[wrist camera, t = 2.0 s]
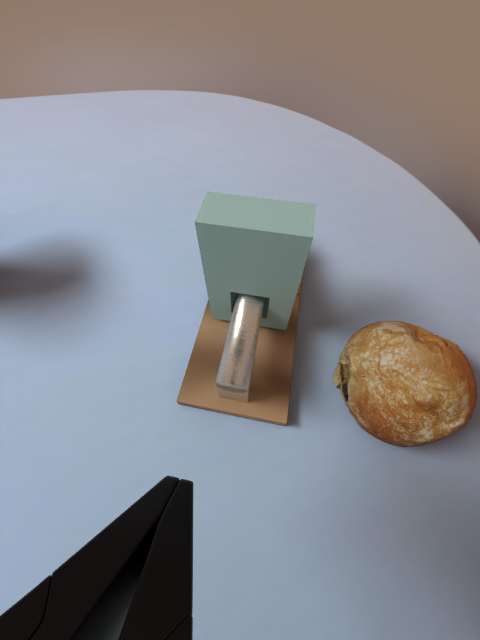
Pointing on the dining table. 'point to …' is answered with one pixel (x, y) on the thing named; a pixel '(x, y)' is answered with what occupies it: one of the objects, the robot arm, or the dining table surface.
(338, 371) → the bread roll
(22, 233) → the dining table surface
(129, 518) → the robot arm
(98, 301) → the dining table surface
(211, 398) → the walnut board
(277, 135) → the dining table surface
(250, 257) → the sage green slotted block
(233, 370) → the grey metal pipe
